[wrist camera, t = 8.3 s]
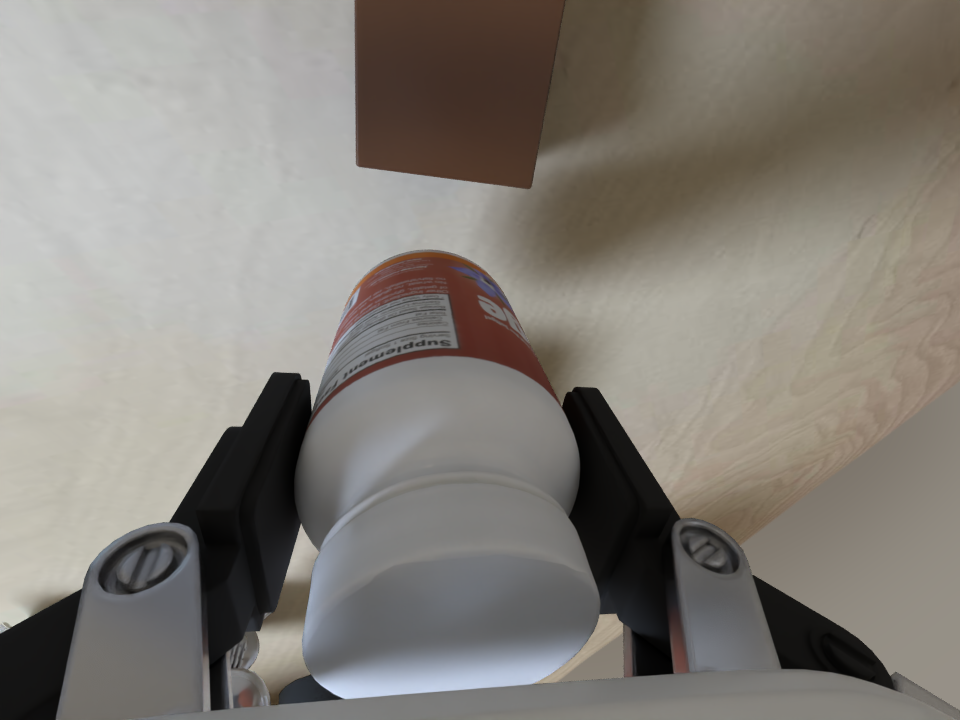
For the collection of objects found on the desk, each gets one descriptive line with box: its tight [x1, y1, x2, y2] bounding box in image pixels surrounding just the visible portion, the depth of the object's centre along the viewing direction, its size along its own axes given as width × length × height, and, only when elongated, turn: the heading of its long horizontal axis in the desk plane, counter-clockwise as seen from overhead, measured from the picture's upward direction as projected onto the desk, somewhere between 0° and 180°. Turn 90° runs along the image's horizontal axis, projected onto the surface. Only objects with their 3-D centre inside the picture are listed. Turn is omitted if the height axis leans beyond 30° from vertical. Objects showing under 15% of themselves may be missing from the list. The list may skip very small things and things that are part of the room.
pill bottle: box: [294, 250, 600, 699], centre depth 11 cm, size 6×6×11 cm
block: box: [355, 0, 566, 189], centre depth 14 cm, size 6×6×6 cm
